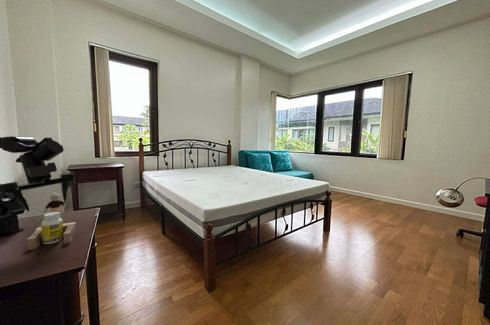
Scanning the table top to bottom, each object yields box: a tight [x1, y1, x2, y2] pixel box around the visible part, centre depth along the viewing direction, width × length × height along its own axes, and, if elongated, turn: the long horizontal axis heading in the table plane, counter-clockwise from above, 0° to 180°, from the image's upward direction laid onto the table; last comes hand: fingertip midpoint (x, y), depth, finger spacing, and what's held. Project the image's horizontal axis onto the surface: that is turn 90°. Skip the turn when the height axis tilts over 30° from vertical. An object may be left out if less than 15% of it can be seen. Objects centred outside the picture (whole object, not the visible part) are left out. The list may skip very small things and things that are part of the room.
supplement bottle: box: [40, 212, 64, 245], centre depth 70 cm, size 5×5×10 cm
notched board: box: [26, 221, 77, 251], centre depth 72 cm, size 10×10×4 cm
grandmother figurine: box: [43, 192, 66, 219], centre depth 87 cm, size 8×4×13 cm, turn 172°
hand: (47, 205), depth 69 cm, fingers open, 9 cm apart
